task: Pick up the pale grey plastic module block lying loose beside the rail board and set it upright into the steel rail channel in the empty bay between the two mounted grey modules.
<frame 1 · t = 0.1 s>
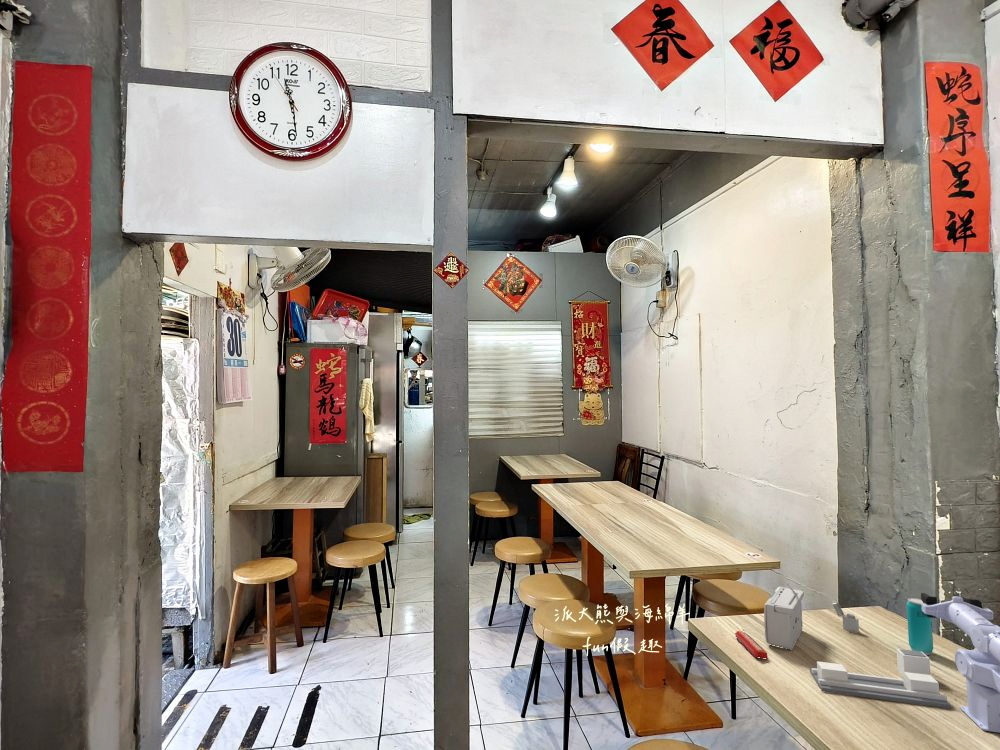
hand: (939, 597, 140), 22 cm above the table, tool horizontal, fingers open, 7 cm apart
red long bar: (750, 650, 157), on the table
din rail: (876, 689, 134), on the table
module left: (832, 683, 136), resting on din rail
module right: (921, 695, 131), resting on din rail
beverage can: (921, 652, 154), on the table
module block: (913, 675, 141), on the table
lighter: (846, 629, 170), on the table
stereo radio cassette player: (785, 639, 164), on the table
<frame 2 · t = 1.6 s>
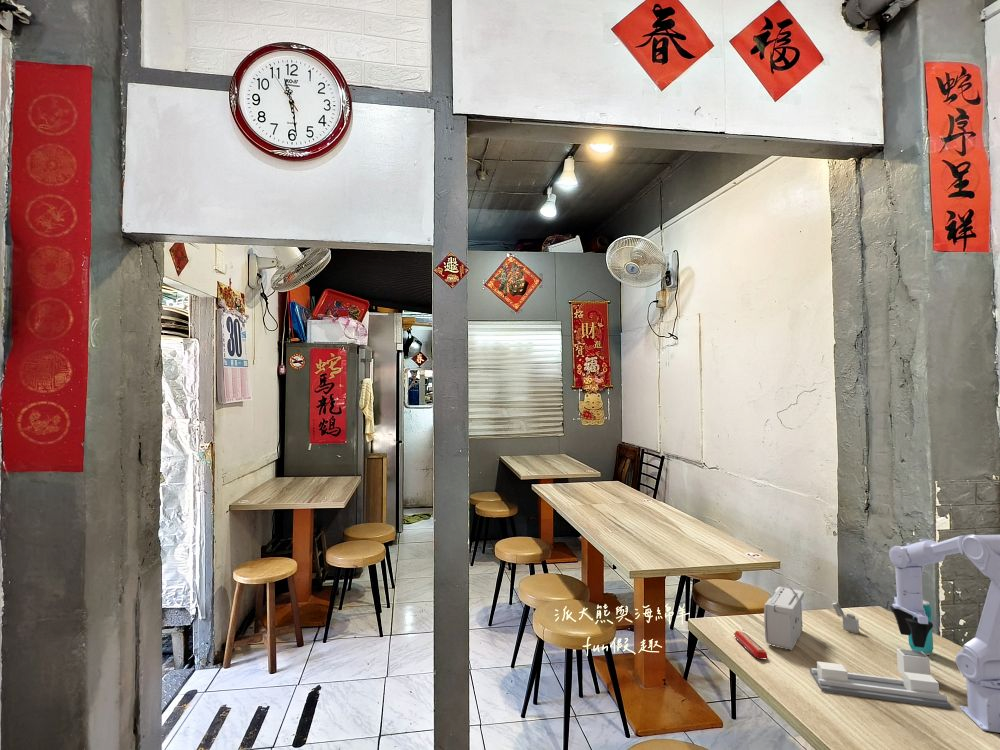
hand: (912, 640, 141), 9 cm above the table, tool pointing down, fingers open, 7 cm apart
nothing on the table moved.
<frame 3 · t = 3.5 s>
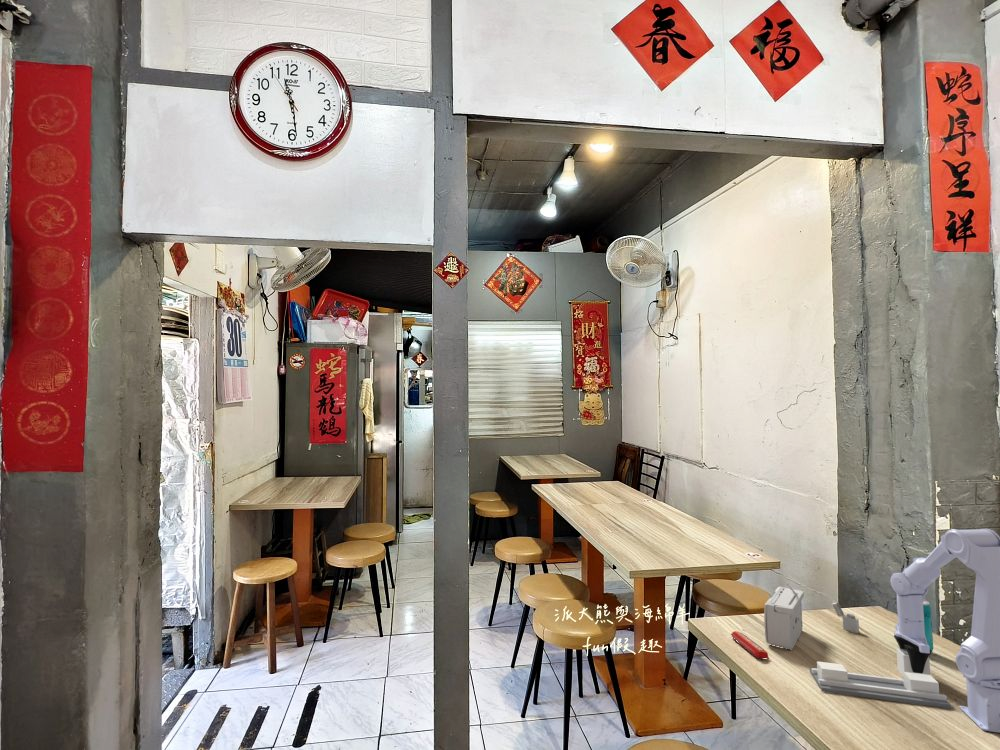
hand: (913, 668, 141), 2 cm above the table, tool pointing down, fingers closed on module block, 4 cm apart
module block: (913, 675, 141), on the table, touching gripper
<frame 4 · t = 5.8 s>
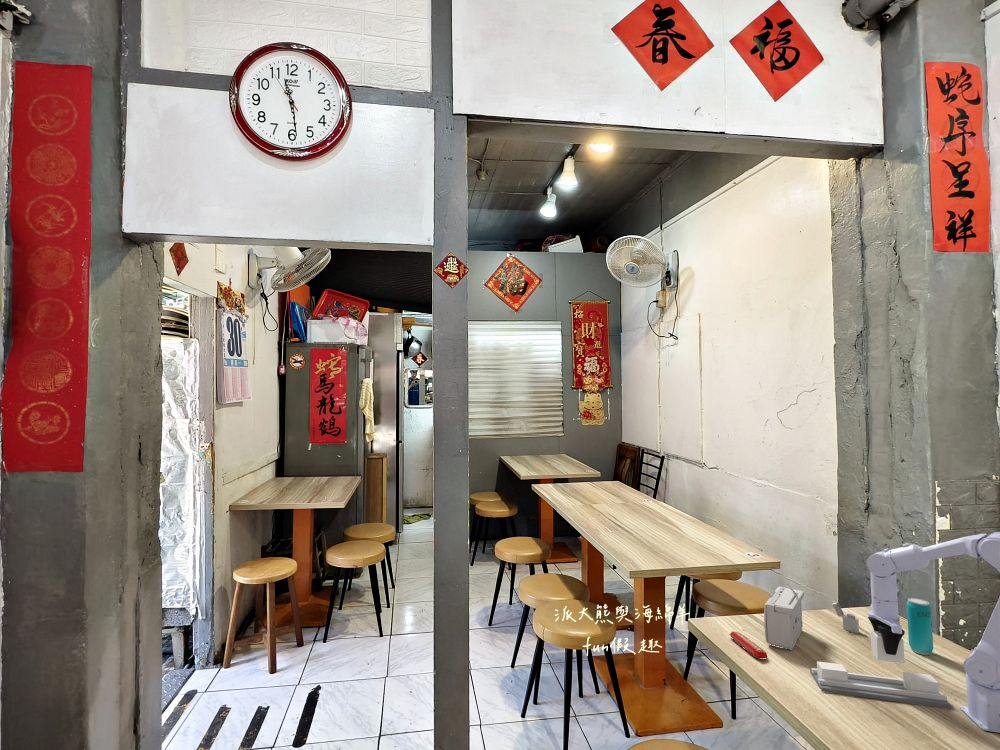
hand: (887, 650, 137), 9 cm above the table, tool pointing down, fingers closed on module block, 4 cm apart
module block: (887, 658, 136), point 7 cm above the table, touching gripper
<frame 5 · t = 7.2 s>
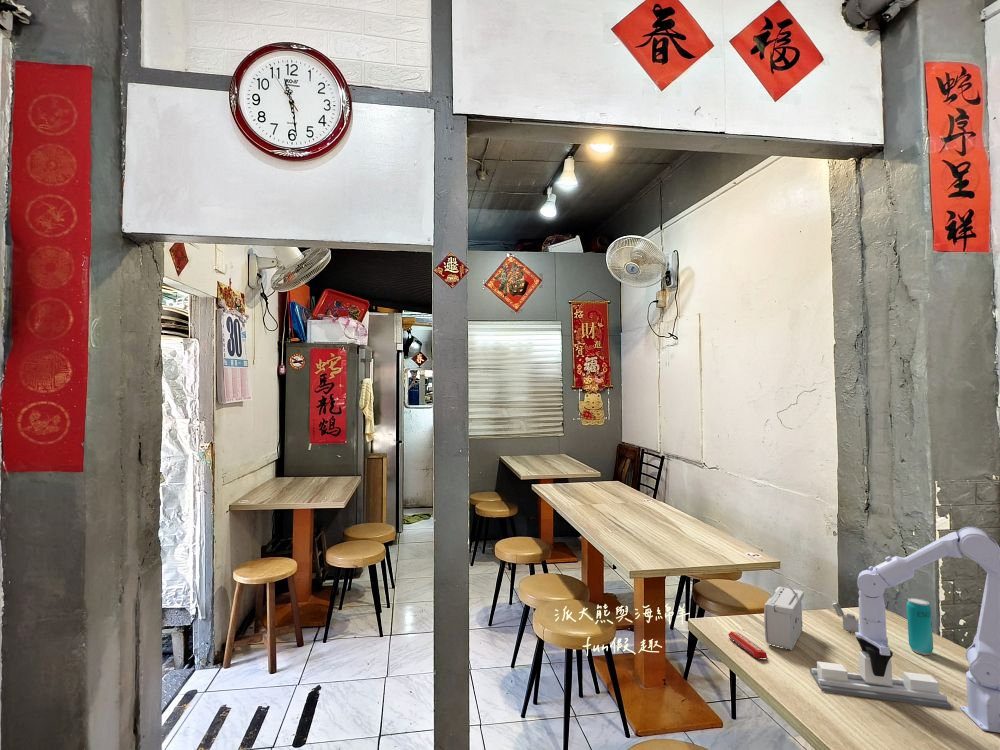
hand: (875, 671, 134), 5 cm above the table, tool pointing down, fingers closed on module block, 4 cm apart
module block: (875, 679, 134), point 3 cm above the table, touching gripper
when the fingers open (3 cm above the table, at t = 8.4 s): module block stays where it is, resting on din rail.
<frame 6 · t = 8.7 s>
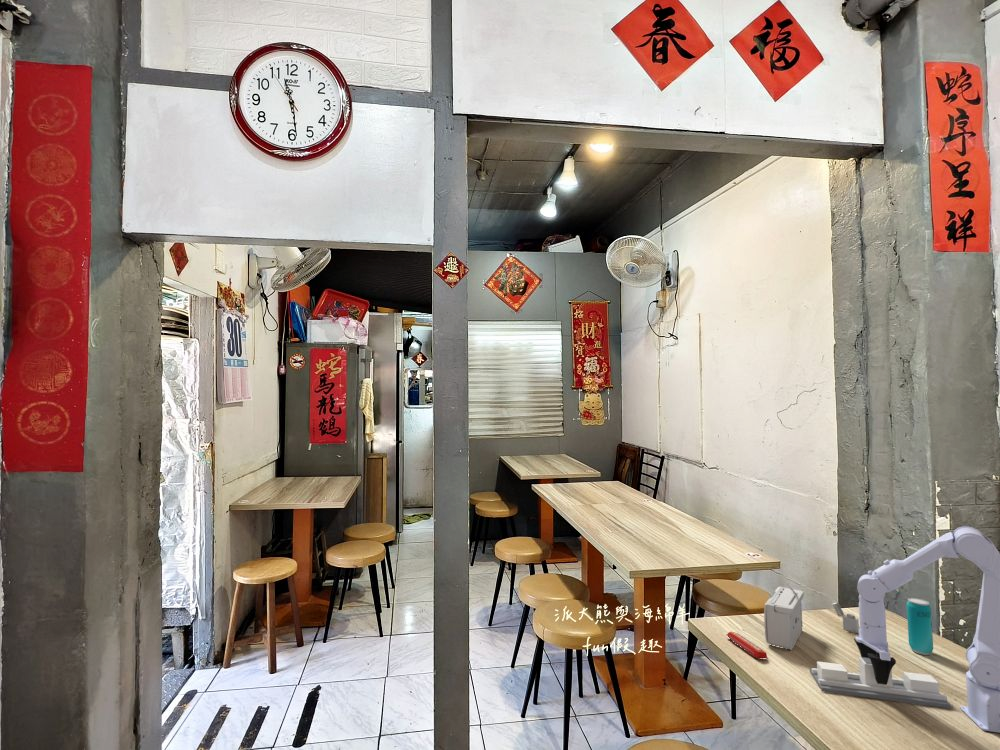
hand: (875, 676, 134), 3 cm above the table, tool pointing down, fingers open, 7 cm apart
module block: (875, 685, 134), point 1 cm above the table, touching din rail
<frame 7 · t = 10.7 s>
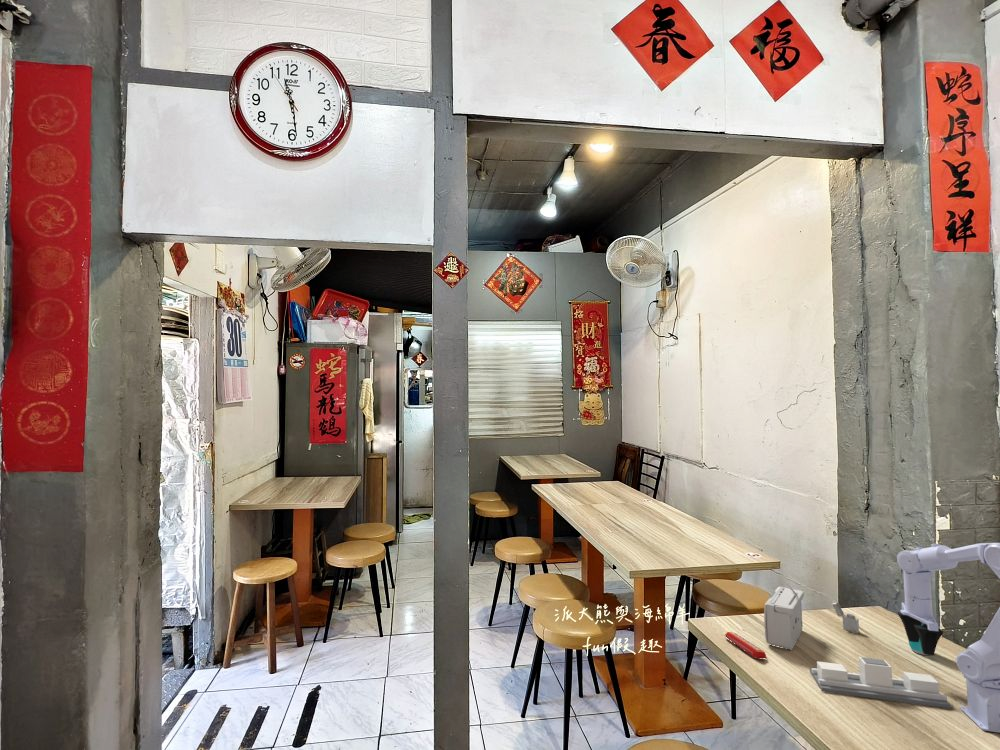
hand: (920, 647, 137), 9 cm above the table, tool pointing down, fingers open, 7 cm apart
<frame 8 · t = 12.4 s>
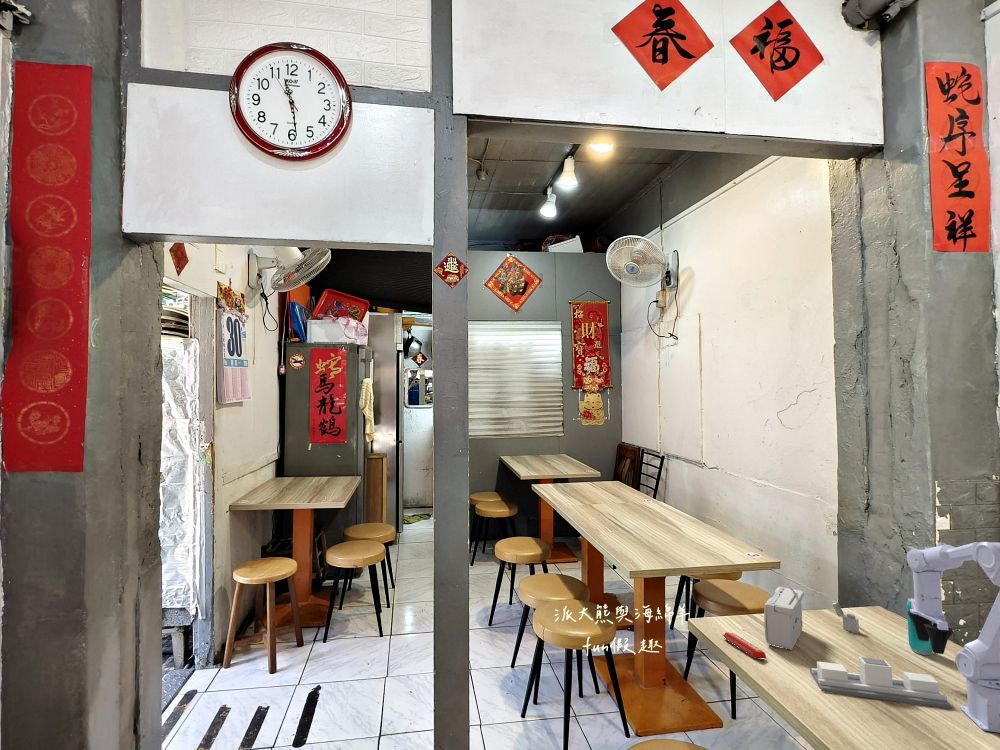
hand: (930, 646, 137), 9 cm above the table, tool pointing down, fingers open, 7 cm apart
at the end: module block 0.0 cm off-centre on the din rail, point 1.0 cm above the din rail's base; module block tilted 0°; the gripper is holding nothing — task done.
